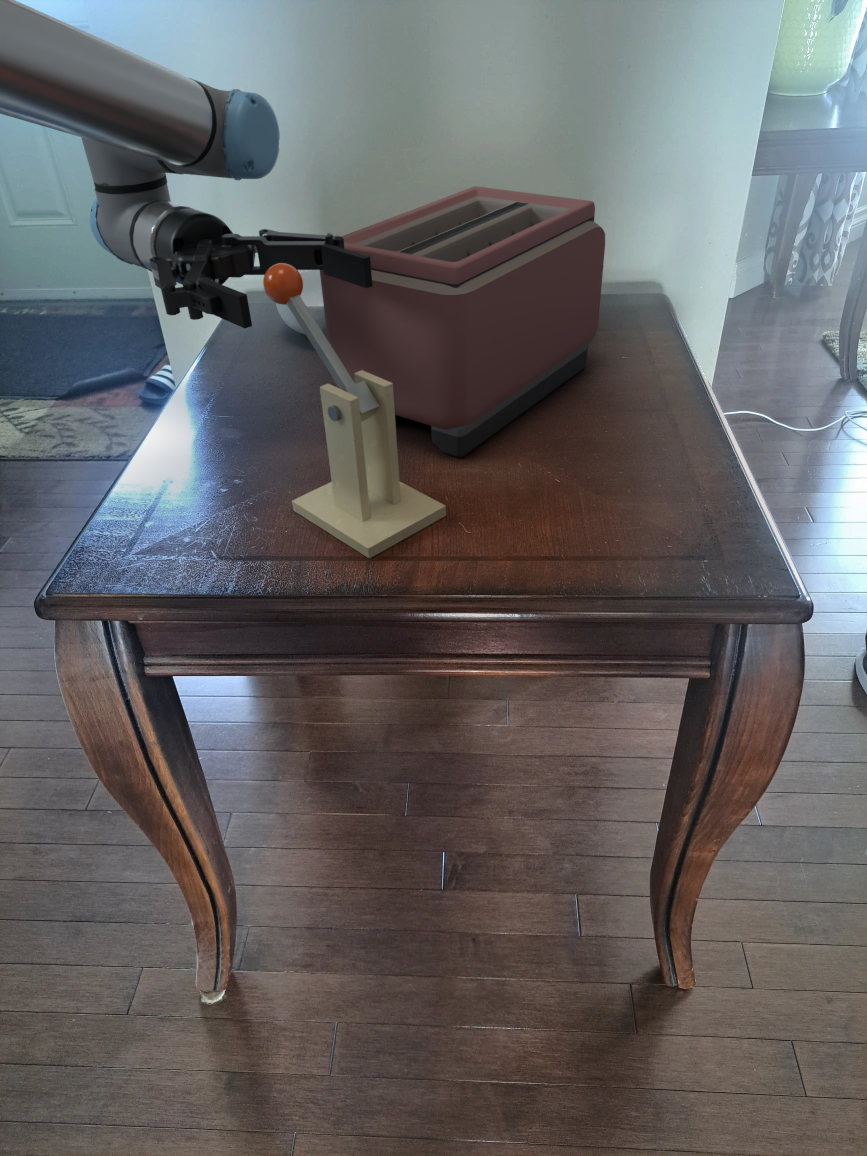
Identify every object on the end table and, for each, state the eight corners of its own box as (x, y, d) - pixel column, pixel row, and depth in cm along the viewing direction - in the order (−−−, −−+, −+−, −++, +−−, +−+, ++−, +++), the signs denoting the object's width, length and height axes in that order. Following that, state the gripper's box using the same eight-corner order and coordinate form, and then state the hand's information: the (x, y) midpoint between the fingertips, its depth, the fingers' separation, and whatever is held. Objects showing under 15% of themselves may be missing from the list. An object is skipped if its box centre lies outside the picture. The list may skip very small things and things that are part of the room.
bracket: (293, 510, 84) (272, 383, 76) (368, 473, 89) (356, 351, 81) (369, 558, 77) (355, 424, 68) (446, 515, 82) (442, 386, 74)
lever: (251, 284, 77) (261, 260, 74) (283, 274, 79) (294, 250, 76) (343, 431, 76) (358, 413, 73) (373, 418, 78) (388, 400, 75)
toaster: (611, 354, 112) (627, 191, 100) (460, 466, 90) (457, 273, 77) (491, 327, 122) (492, 175, 109) (327, 423, 99) (305, 244, 86)
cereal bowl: (291, 311, 130) (284, 265, 126) (396, 309, 129) (393, 263, 125) (270, 354, 116) (261, 304, 112) (387, 352, 116) (384, 302, 111)
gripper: (289, 256, 95) (415, 297, 82) (84, 314, 82) (196, 374, 69) (280, 185, 90) (411, 217, 78) (60, 235, 77) (176, 283, 65)
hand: (310, 291), depth 73 cm, fingers open, 13 cm apart
